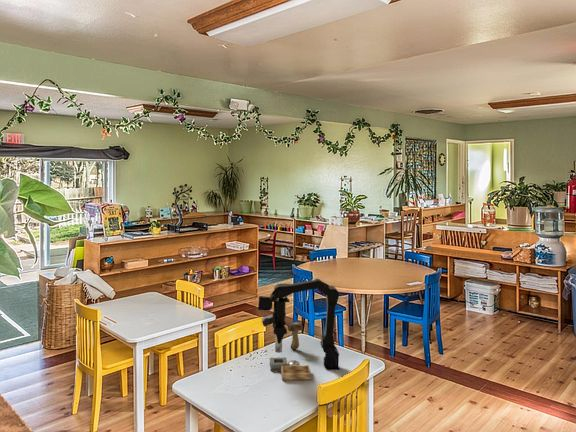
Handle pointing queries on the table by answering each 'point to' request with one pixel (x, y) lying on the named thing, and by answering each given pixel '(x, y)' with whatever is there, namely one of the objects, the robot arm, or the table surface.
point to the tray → (295, 373)
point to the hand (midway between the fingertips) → (278, 342)
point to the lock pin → (278, 345)
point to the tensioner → (281, 363)
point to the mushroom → (295, 334)
